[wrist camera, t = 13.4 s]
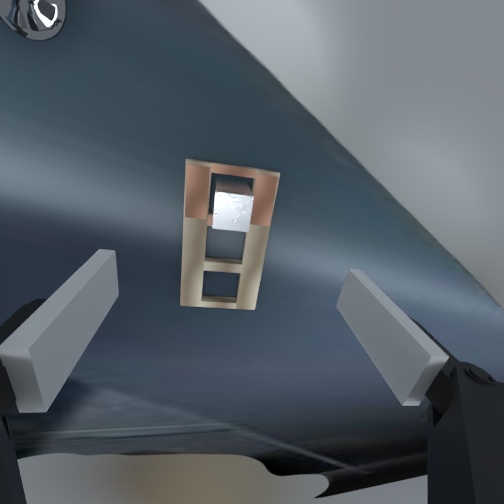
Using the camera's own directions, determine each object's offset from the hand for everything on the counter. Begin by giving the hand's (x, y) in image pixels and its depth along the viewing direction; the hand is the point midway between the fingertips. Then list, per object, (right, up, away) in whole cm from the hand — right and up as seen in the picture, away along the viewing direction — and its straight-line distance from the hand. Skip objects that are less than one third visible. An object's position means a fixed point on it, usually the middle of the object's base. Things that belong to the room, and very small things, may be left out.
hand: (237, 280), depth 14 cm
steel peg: (-2, +10, +21) cm, 23 cm away
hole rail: (-3, +3, +24) cm, 24 cm away
